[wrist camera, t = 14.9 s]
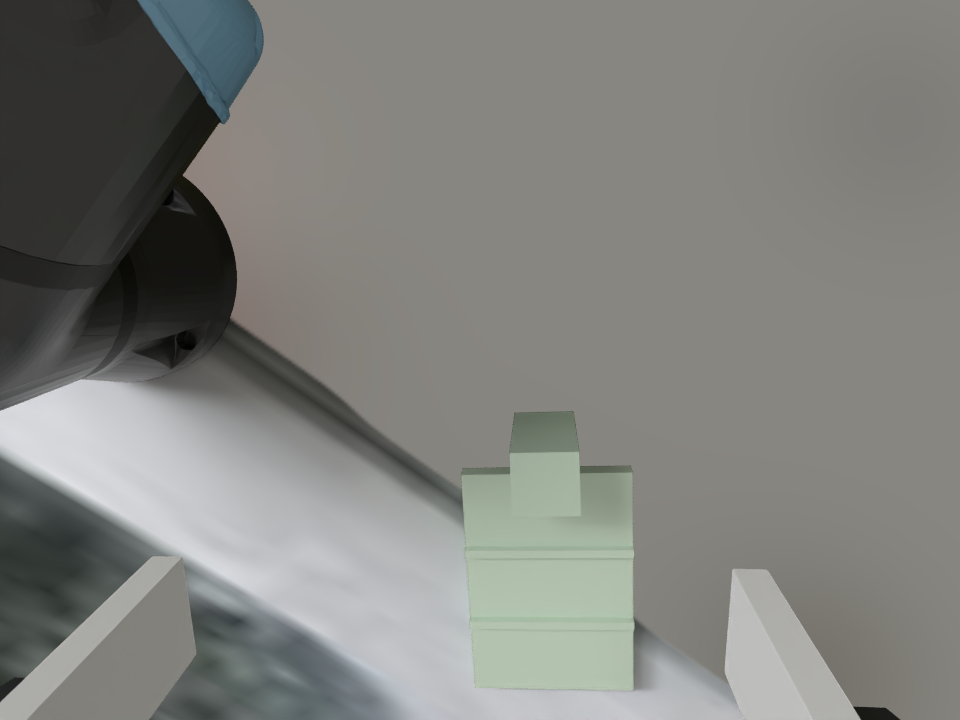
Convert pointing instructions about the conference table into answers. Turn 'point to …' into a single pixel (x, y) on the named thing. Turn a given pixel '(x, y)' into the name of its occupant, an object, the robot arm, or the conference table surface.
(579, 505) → the lid
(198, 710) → the conference table surface
